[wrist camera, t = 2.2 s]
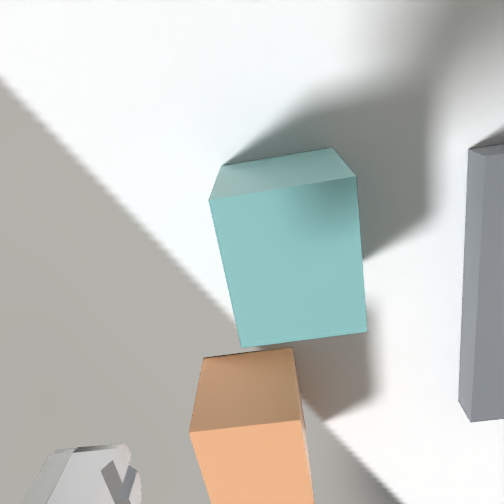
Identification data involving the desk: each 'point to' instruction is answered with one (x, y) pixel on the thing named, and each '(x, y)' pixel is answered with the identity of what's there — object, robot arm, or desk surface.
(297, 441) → the terracotta brick
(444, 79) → the desk surface
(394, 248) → the desk surface
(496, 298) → the plate
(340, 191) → the teal brick
